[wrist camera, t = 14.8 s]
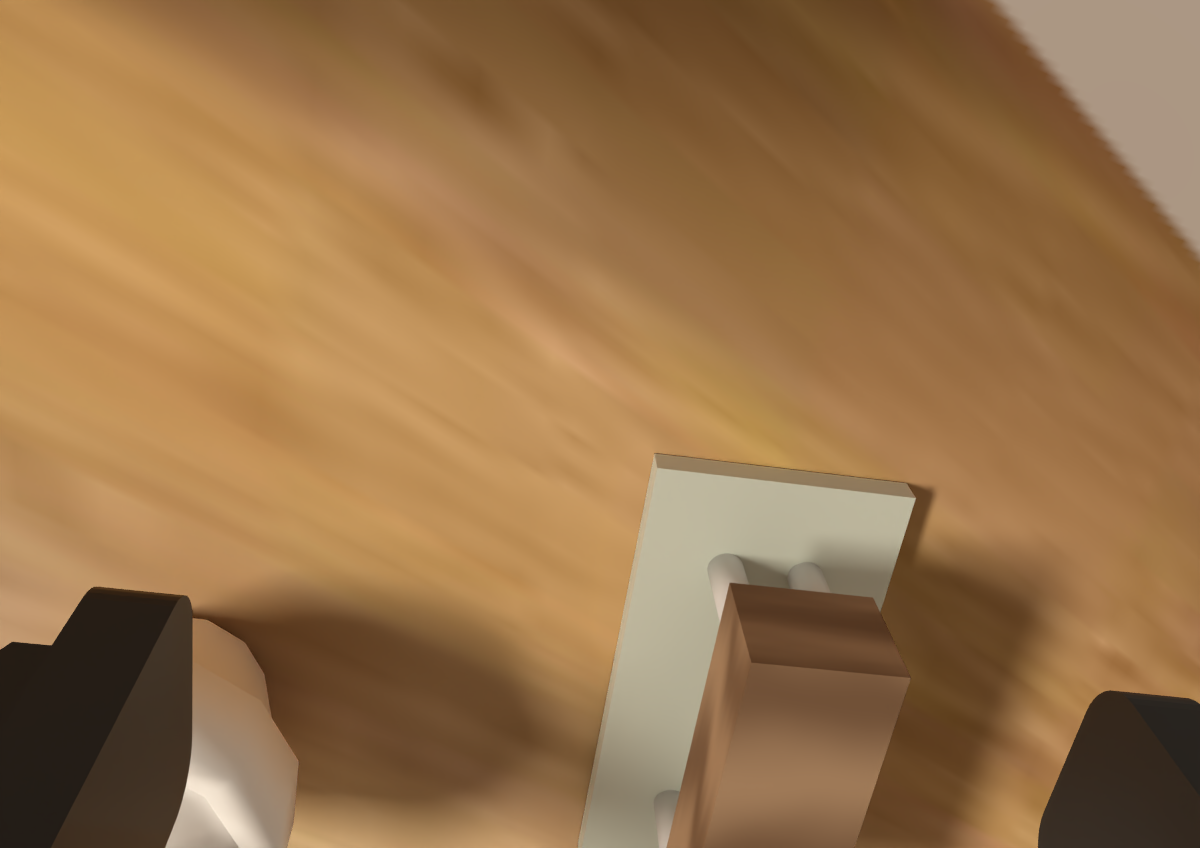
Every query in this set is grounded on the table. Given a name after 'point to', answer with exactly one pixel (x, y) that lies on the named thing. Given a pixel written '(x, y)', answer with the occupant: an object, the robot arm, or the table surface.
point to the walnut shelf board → (790, 722)
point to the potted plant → (233, 753)
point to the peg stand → (717, 609)
